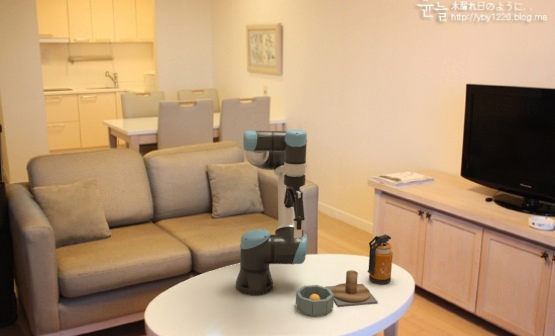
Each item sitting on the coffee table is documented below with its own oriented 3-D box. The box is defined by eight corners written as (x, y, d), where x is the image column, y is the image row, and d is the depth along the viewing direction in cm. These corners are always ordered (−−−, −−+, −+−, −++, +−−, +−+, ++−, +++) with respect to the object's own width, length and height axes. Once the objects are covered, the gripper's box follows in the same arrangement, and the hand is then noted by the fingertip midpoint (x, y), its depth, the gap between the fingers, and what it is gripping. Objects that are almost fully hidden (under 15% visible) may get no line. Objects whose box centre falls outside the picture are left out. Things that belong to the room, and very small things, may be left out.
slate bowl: (293, 301, 216) (293, 286, 215) (325, 298, 219) (326, 284, 217) (302, 317, 204) (302, 302, 202) (336, 314, 206) (337, 299, 205)
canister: (395, 281, 235) (398, 236, 230) (375, 288, 229) (378, 241, 224) (379, 274, 242) (383, 230, 237) (360, 279, 236) (363, 235, 231)
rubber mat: (325, 288, 227) (325, 286, 227) (362, 285, 231) (362, 283, 231) (337, 306, 212) (338, 305, 212) (377, 303, 216) (377, 301, 216)
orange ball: (307, 303, 213) (307, 292, 212) (318, 302, 214) (318, 291, 212) (310, 308, 208) (310, 297, 207) (321, 307, 209) (322, 296, 208)
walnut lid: (326, 287, 227) (327, 266, 225) (361, 284, 230) (363, 263, 228) (338, 304, 213) (340, 282, 211) (376, 301, 216) (377, 279, 214)
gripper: (315, 182, 187) (312, 242, 192) (296, 165, 210) (294, 219, 216) (293, 183, 185) (291, 244, 190) (276, 166, 209) (275, 220, 214)
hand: (293, 231), depth 203 cm, fingers open, 13 cm apart
